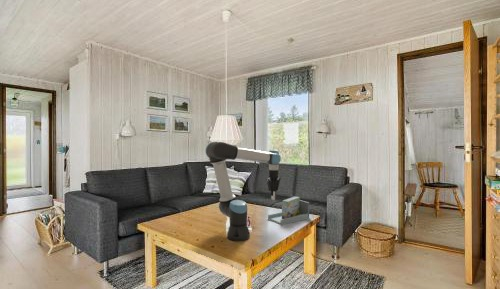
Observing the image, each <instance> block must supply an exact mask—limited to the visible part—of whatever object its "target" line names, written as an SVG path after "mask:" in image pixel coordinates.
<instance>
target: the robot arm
mask: <svg viewBox="0 0 500 289" xmlns="http://www.w3.org/2000/svg"><path fill="white" fill-rule="evenodd" d="M205 155H206V157H207V158H209V163H210V164H211V165H212V166H213V170H214V175H215V179H216V182H217V186H218V191H219V192H218V193H219V196H220V198H219V202H218V209H219V211H220V212H221V213H222V215H224V216H225V217H228V218H229V227H228V230H227V233H226V236H227V237H226V238H227V239H228V240H229V241H234V242H243V241H246V240H249V239H250V237H251V233H250V230H249V226H248V204H247V202H245V201H244V200H241V199H240V200H239V199H236V198H237V197H236V195H235V194H234V193H233V190H232V185H231V182H230V178H229V172H228V167H227V164H226V161H227V160H232V161H235V160H236V159H237V160H242V161H250V162H257V163H265V164H268V169H269V170H268V178H266V179H265V181H266V183H267V188H268V191H270V197H271V198H270V200H272V201H275V200H276V195H277V194H276V193H277V191H278V190H279V186H280V181H281V177H279V164H280V162H281V159H282V157H281V154H280V150H277V149H269V152H268V151H263V150H262V151H261V150H257V149H256V150H255V149H248V148H243V147H238V146H237V145H234V144H232V143H231V144H229V143H227V142H223V141H211V142H209V143H208V144H207V145H206V147H205Z"/></svg>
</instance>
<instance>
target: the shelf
mask: <svg viewBox="0 0 500 289" xmlns="http://www.w3.org/2000/svg"><path fill="white" fill-rule="evenodd" d="M307 219H310V202H309V201H305V200H301V199H300V209H299V215H297V216H294V217H289V218H285V219H282V211H280V212H279V211H278V212H275V213H271V214H270V213H269V214H267V220H269V221H272V222H274V223H276V224H279V225H281V226H283V225H287V224H291V223H295V222H299V221H300V222H301V221H303V220H307Z"/></svg>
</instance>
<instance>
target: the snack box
mask: <svg viewBox="0 0 500 289" xmlns="http://www.w3.org/2000/svg"><path fill="white" fill-rule="evenodd" d="M300 200H301V197H300V196H292V197H289V198H285V199H283V200H282V202H281V212H282V219H285V218H289V217H294V216H297V215H299V209H300Z"/></svg>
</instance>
